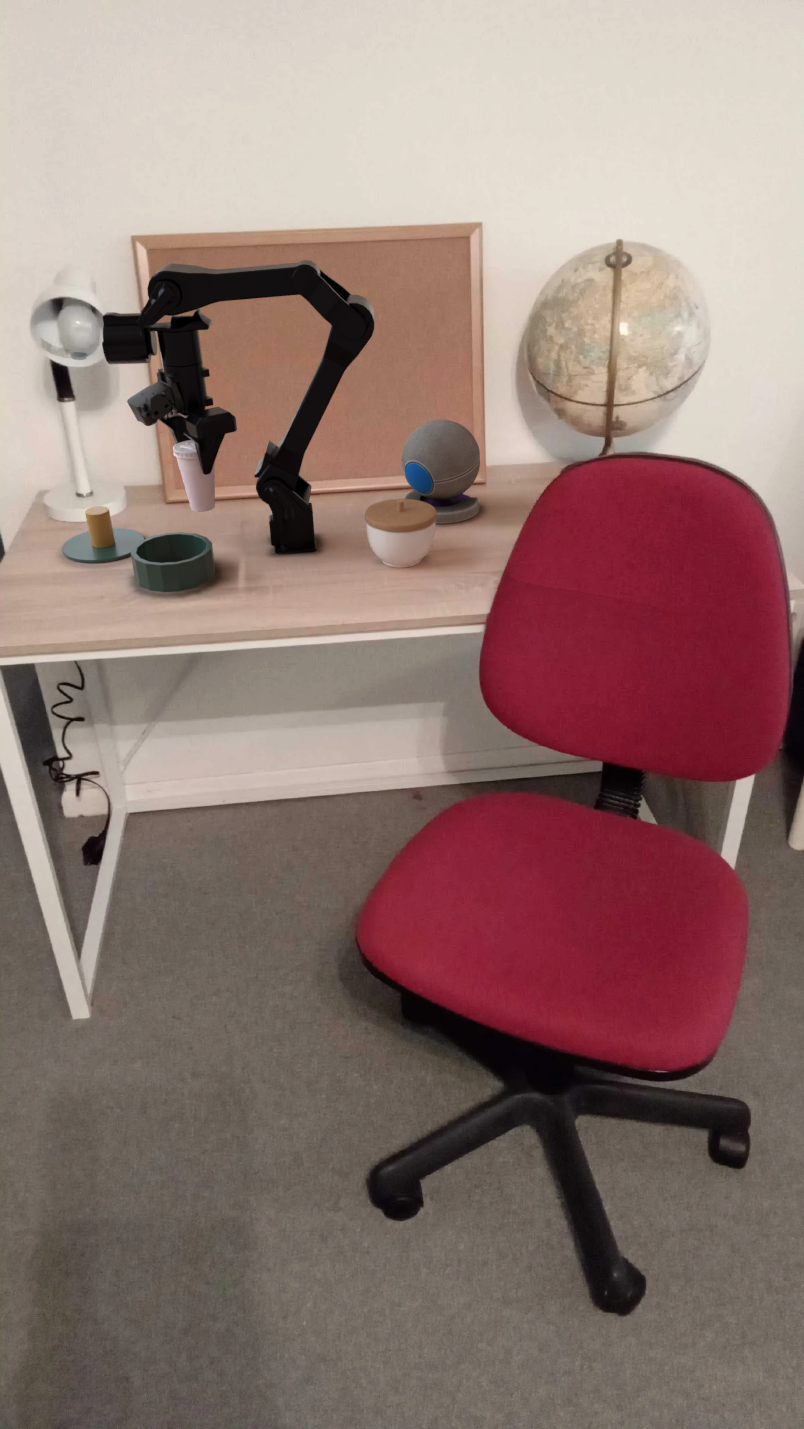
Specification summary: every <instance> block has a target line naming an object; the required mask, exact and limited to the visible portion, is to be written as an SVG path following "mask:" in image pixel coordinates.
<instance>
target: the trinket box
mask: <svg viewBox="0 0 804 1429" xmlns="http://www.w3.org/2000/svg"><path fill="white" fill-rule="evenodd" d="M364 521H365V529H366V537H367V541H368V545H369V546H370V549H371V550H372V552H373V553H374V555H375V556H376V557H377V558H378V559H380V560H381V562H382V563H383V565H385V566H388V567H392V568H397V569H398V568H399V569H401V568H402V569H404V568H405V569H406V568H411V567H414V566H417V565H418V564H420V563H421V561H422V559H424V557H425V556H426V555H428V553H429V552H430V550H431V548H432V546H433V544H434V541H435V537H436V525H437V523H436V509H435V508H434V507H433V506H432V505H430V504H428V503H426V502H423V501H419V500H413V499H404V498H393V499H385V500H381V501H378V502H375V503H373V504H371V505H369V506H368V507H367V508H366V509H365V511H364Z"/></svg>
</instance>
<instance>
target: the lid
mask: <svg viewBox="0 0 804 1429" xmlns="http://www.w3.org/2000/svg"><path fill="white" fill-rule="evenodd" d="M84 515H85V519H86V523H87V529H88V531H84V532H82V533H79V534H75V535H74V536H72V537H70V538H69V539H67V540H66V541H65V542H64V543H63V544H62V547H61V551H62V554H63V556H64V557H65V558H67V559H69V560H71V561H73V562H77V563H84V564H102V563H110V562H114V561H115V562H116V561H119V560H122V559H125V558H128V557H131V551H132V547H134V546H135V545H136V544H137V543H138V542H140V541H142V540H144V539H145V537H144V536H143V534H142V533H140V532H139V531H137V530H134V529H131V528H125V527H124V528H123V527H113V524H112V519H111V513H110V507H107V506H103V505H98V506H97V505H95V506H91V507H89V508H87V509H85V511H84Z"/></svg>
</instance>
